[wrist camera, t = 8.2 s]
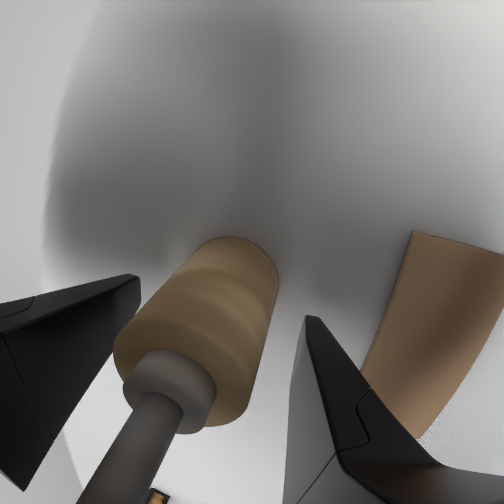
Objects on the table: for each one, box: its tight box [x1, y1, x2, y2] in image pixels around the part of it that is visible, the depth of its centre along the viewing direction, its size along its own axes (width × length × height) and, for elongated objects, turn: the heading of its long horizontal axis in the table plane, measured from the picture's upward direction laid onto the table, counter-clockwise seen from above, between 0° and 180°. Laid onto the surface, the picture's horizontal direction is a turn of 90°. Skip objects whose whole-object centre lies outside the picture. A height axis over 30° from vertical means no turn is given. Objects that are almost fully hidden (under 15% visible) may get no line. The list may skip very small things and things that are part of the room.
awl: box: [76, 237, 279, 504], centre depth 7 cm, size 3×3×9 cm
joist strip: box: [360, 231, 504, 439], centre depth 13 cm, size 5×25×1 cm, turn 172°
